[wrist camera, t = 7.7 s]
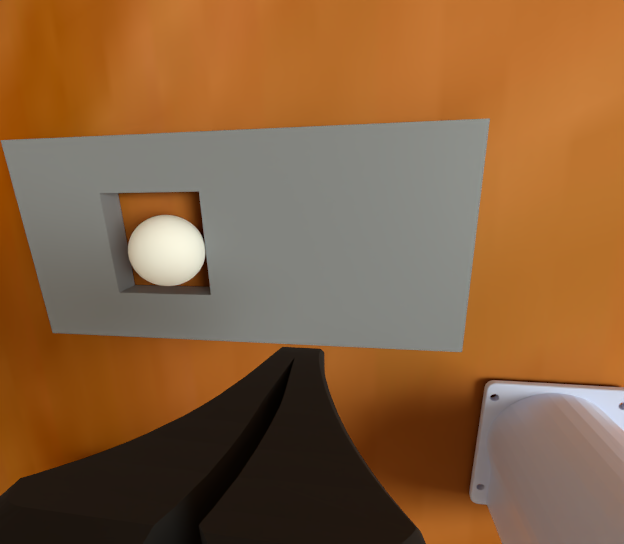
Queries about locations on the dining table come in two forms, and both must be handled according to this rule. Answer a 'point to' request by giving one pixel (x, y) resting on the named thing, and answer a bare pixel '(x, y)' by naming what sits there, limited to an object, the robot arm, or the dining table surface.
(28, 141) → the board
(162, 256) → the ball
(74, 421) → the dining table surface
